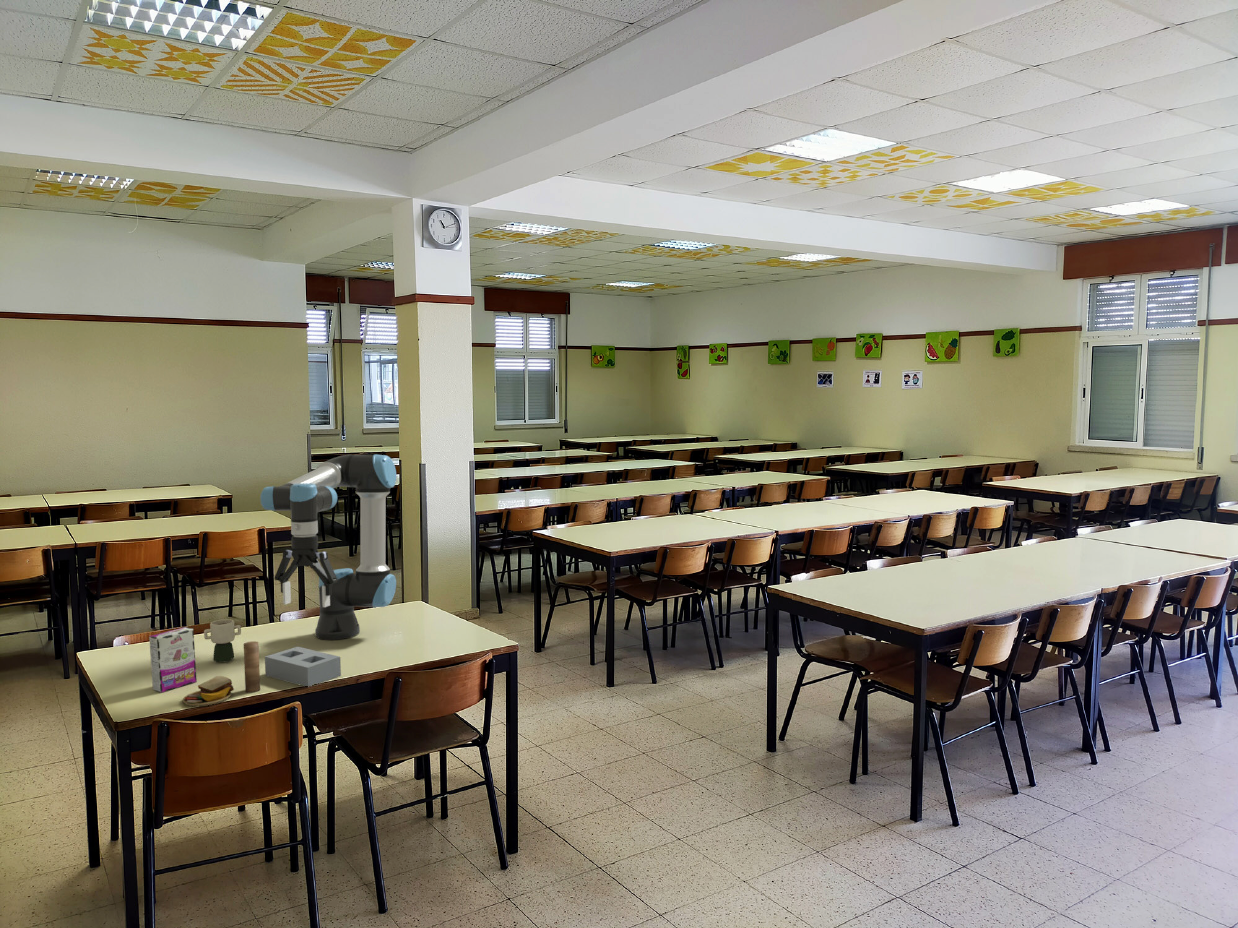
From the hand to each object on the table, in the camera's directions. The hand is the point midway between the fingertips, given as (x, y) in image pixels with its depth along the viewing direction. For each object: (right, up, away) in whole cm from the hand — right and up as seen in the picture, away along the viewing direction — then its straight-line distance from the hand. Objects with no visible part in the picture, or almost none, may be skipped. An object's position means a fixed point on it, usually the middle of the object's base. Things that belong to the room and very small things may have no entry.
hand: (306, 604), depth 258 cm
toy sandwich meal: (-23, -25, -14) cm, 36 cm away
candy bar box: (-38, -24, -4) cm, 45 cm away
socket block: (-3, -23, +5) cm, 23 cm away
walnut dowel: (-13, -24, -8) cm, 28 cm away
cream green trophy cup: (-34, -22, +19) cm, 45 cm away
